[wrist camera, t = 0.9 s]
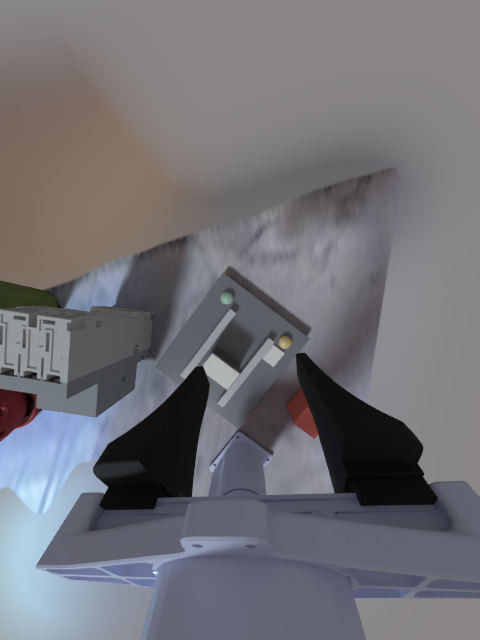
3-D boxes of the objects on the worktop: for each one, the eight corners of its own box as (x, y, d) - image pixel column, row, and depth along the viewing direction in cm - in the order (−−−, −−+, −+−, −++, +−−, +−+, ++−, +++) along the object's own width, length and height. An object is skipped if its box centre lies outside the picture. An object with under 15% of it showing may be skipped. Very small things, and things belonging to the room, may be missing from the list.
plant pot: (72, 345, 33) (-20, 365, 21) (10, 336, 33) (-112, 351, 22) (76, 281, 32) (-17, 267, 20) (12, 272, 32) (-114, 253, 21)
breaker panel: (237, 421, 33) (237, 432, 30) (159, 363, 32) (151, 368, 30) (306, 336, 31) (312, 339, 28) (224, 274, 31) (222, 271, 28)
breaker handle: (230, 377, 30) (227, 390, 26) (206, 360, 30) (199, 369, 26) (240, 364, 30) (239, 374, 26) (217, 346, 30) (211, 353, 25)
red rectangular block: (303, 418, 32) (314, 438, 27) (286, 405, 32) (293, 423, 27) (317, 401, 32) (330, 419, 27) (300, 388, 32) (310, 403, 27)
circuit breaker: (106, 382, 33) (-9, 445, 18) (113, 306, 32) (-5, 306, 17) (146, 388, 33) (62, 457, 18) (153, 312, 32) (71, 317, 17)
